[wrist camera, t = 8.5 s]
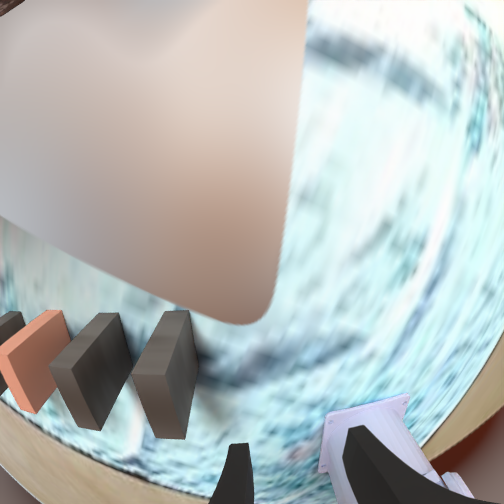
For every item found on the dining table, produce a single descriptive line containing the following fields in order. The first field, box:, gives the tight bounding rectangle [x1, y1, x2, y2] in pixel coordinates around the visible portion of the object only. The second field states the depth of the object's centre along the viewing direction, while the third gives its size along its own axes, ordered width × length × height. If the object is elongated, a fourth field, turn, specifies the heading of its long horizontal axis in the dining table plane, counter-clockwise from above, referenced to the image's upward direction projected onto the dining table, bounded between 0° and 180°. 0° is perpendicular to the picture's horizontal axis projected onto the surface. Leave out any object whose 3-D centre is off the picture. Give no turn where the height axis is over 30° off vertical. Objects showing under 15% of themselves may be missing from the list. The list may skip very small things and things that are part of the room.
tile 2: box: [48, 313, 133, 431], centre depth 15 cm, size 4×2×7 cm, turn 4°
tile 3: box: [0, 311, 25, 396], centre depth 15 cm, size 4×2×7 cm, turn 4°
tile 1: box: [131, 310, 199, 440], centre depth 15 cm, size 4×2×7 cm, turn 4°
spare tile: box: [0, 310, 71, 414], centre depth 15 cm, size 4×2×7 cm, turn 4°
